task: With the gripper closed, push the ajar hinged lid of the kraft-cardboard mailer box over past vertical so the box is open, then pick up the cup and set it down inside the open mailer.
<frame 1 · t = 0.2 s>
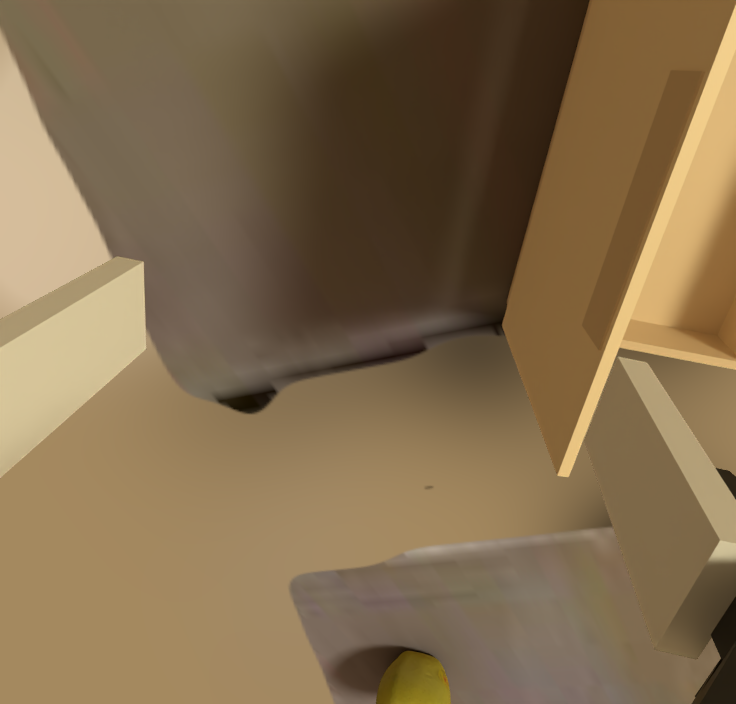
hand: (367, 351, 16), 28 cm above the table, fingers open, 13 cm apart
mailer box: (667, 171, 38), on the table
apple: (416, 660, 64), on the table
lid: (590, 185, 27), point 13 cm above the table, hinge at 85.0°
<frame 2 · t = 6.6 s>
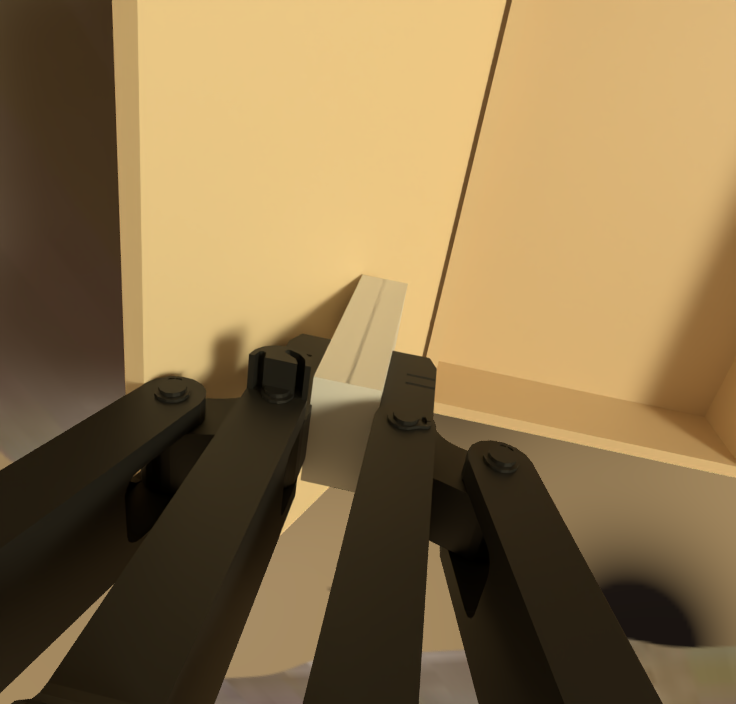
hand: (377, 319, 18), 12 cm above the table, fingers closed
mailer box: (636, 190, 26), on the table
lid: (360, 191, 16), point 12 cm above the table, hinge at 111.0°, touching gripper
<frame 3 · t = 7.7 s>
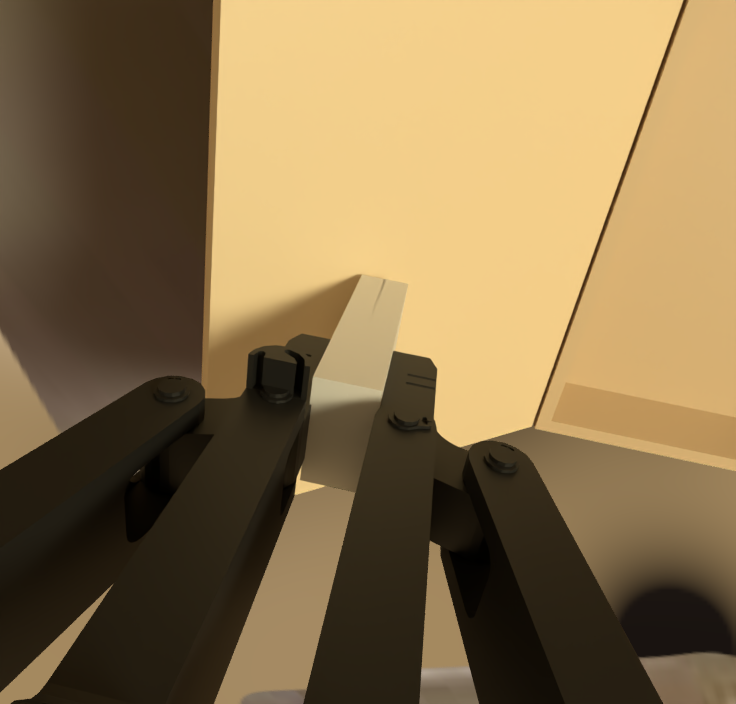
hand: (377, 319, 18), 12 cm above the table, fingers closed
lid: (455, 187, 18), point 10 cm above the table, hinge at 139.9°, touching gripper
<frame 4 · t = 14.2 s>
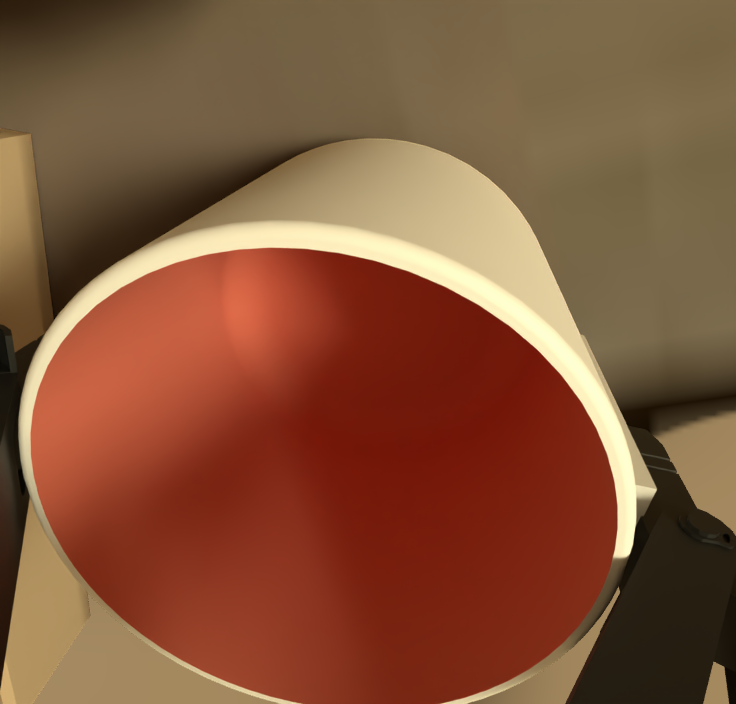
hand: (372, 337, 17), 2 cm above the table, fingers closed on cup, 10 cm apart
cup: (381, 298, 18), on the table, touching gripper
when the fingers open (3 cm above the table, at t = 20.6 s): cup stays where it is, resting on mailer box.
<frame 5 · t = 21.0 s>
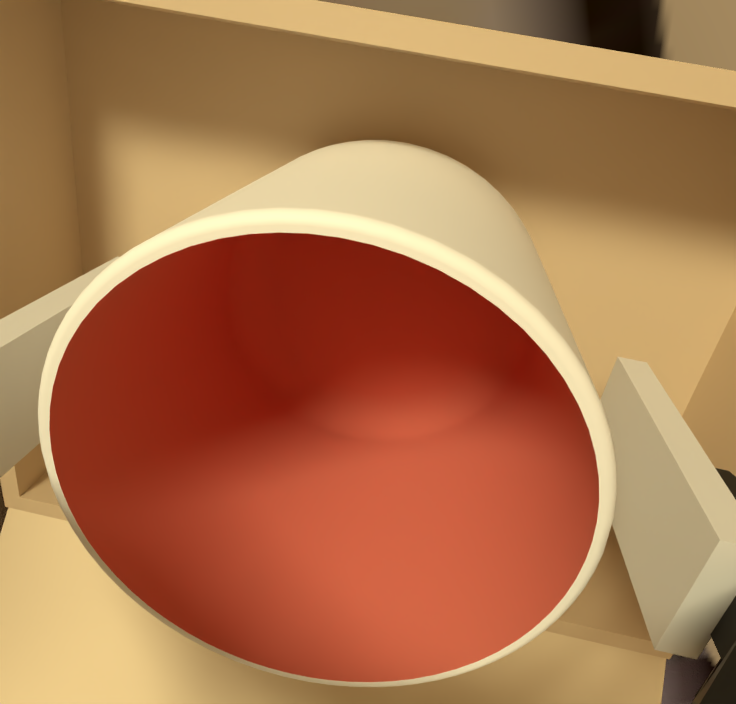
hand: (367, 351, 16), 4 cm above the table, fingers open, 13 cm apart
cup: (381, 294, 19), resting on mailer box
mailer box: (384, 300, 19), on the table
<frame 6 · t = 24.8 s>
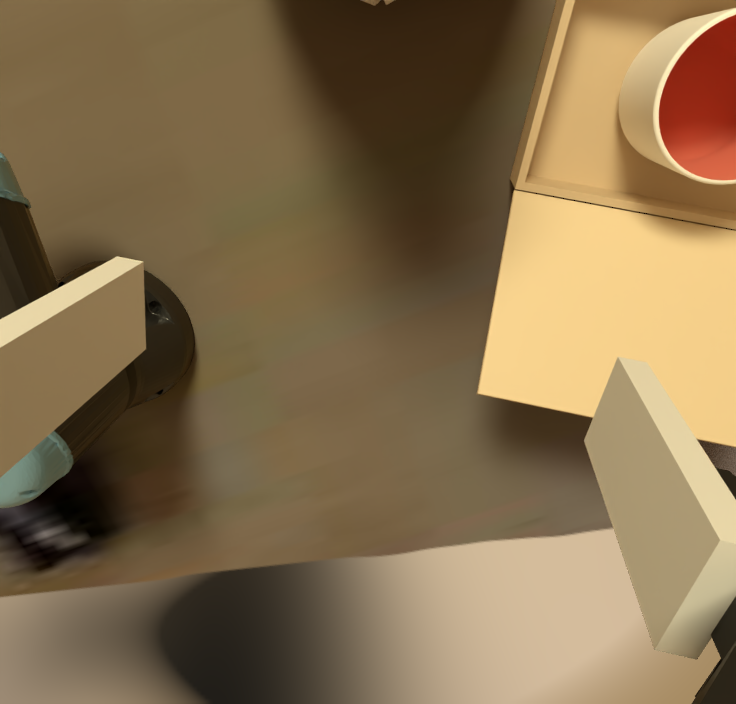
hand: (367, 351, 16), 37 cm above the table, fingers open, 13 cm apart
cup: (683, 93, 43), resting on mailer box
mailer box: (681, 98, 44), on the table
lid: (644, 318, 42), point 9 cm above the table, hinge at 143.5°
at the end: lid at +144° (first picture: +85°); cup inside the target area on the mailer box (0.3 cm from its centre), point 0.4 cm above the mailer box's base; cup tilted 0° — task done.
